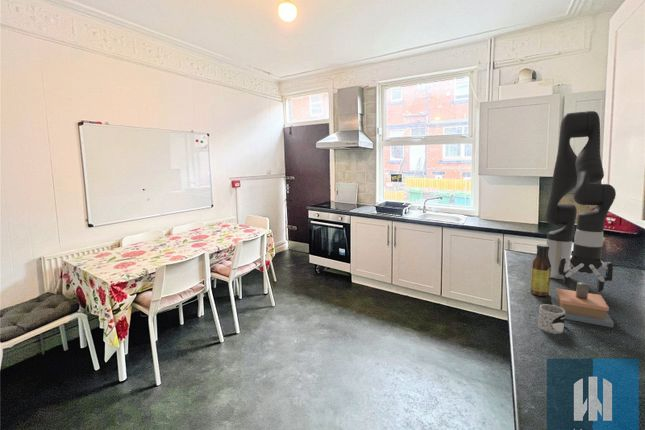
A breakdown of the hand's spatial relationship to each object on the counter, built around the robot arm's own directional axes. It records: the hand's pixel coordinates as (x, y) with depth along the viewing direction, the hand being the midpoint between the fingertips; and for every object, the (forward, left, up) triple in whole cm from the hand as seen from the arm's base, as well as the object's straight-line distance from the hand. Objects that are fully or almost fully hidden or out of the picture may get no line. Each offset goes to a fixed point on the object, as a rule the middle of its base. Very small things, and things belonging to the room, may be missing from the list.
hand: (582, 289), depth 112 cm
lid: (0, 0, -4) cm, 4 cm away
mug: (+16, -9, -9) cm, 20 cm away
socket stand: (0, 0, -9) cm, 9 cm away
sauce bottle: (-13, -11, -9) cm, 19 cm away
